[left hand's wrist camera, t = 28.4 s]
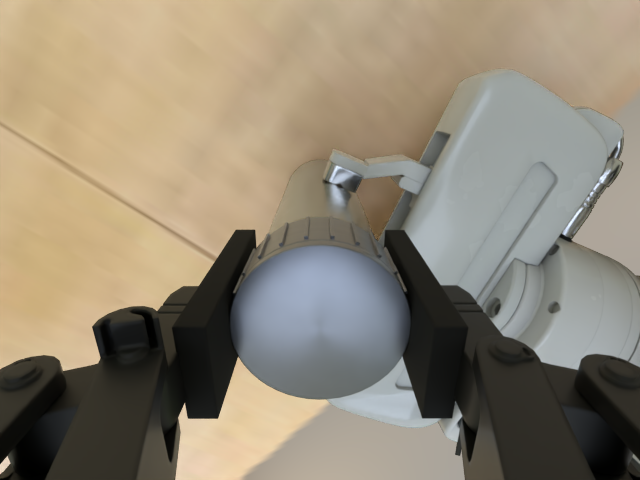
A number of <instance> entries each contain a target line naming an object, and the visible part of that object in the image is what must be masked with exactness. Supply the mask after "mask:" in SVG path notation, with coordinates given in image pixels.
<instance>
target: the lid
mask: <svg viewBox="0 0 640 480" xmlns="http://www.w3.org/2000/svg"><path fill="white" fill-rule="evenodd" d="M406 294H408V292H407V289H406V287H405V285H404V283H403V281H402V278H401V276H400V274H399V272H398V270H397V268H396V265H394V263H393V261H392V258H391V256H390V254H389V252H388V250H387V248H386V247H385V248H383V247H382V245H381V244H380V243H379V242H378V241H377V240H376V239H375V237H374V235H373V233H371V232H370V233H368V232H366V231H365V230H363V229H362V228H360V227H358V226H356V225H355V223H354V222H351V223H349V222H346V221H343V220H338V219H333V217H332V216H329V218H323V217H320V218H310V216H308V217H306V219H302V220H298V221H295V222H292V223H289V224H288V222H286V223H285V224H284V226H282V227H281V228H279V229H277V230H276V231H274V232H273V233H271V234H269V233H268V234H267V235H266V237H265V239H264V240H263V241H262V243H261V244H260V245H259V246H258V247H257V249H253V250H252V252H251V255H250V257H249V259H248V261H247V263H246V265H245V267H244V269H243V271H242V274H241V276H240V278H239V280H238V282H237V285H236V287H235V289H234V291H233V294H232V295H233V296H234V297H233V300H232V304H231V307H230V313H229V324H230V333H231V340H232V343H233V346H234V349H235V351H236V353H237V355H238V357H239V358H240V360H241V361H242V362H243V364H244V365H245V366H246V368H247V369H248V370H249V371H250V372H251V373H252V374H253V375H254V376H256V377H257V378H258V379H259V380H260V381H262V382H263V383H265V384H266V385H268V386H270V387H272V388H274V389H276V390H278V391H280V392H283V393H285V394H288V395H292V396H296V397H300V398H306V399H334V398H341V397H345V396H349V395H352V394H355V393H358V392H361V391H363V390H365V389H367V388H369V387H371V386H373V385H374V384H376V383H377V382H379V381H380V380H381V379H383V378H384V377H385V376H386V375H388V374H389V373H390V371H391V370H392V369H393V368H394V367H395V366H396V365H397V363H398V362H399V361H400V359H401V357H402V356H403V354H404V352H405V350H406V347H407V345H408V342H409V336H410V327H411V309H410V305H409V301H408V298H407V296H406Z"/></svg>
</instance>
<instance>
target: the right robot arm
mask: <svg viewBox="0 0 640 480" xmlns="http://www.w3.org/2000/svg"><path fill="white" fill-rule="evenodd" d="M623 134H624V130H623V129H622V127H621V126H620V125H619V124H618V123H617V122H616V121H614V120H613V119H611V118H609V117H607V116H605V115H603V114H601V113H599V112H597V111H595V110H593V109H591V108H588V107H583V106H576V107H572V106H570V105H569V104H568V103H566V102H565V101H564V100H562V99H561V98H560V97H558V96H557V95H555V94H554V93H553V92H551V91H550V90H548V89H547V88H545V87H544V86H542V85H541V84H539V83H537V82H536V81H534V80H532V79H531V78H529V77H527V76H525V75H523V74H522V73H520V72H517V71H515V70H511V69H493V70H489V71H485V72H482V73H479V74H476V75H473V76H471V77H468V78H466V79H464V80H462V81H461V82H460V83H459V84H458V86H457V88H456V90H455V92H454V94H453V95H452V97H451V99H450V101H449V103H448V105H447V107H446V109H445V111H444V113H443V115H442V117H441V119H440V121H439V123H438V125H437V127H436V129H435V131H434V132H433V134H432V136H431V138H430V140H429V142H428V144H427V146H426V148H425V150H424V152H423V154H422V156H421V158H420V160H419V162H418V161H416V160H413V159H411V158H409V157H406V156H404V155H402V154H397V155H390V156H383V157H375V158H368V159H365V160H364V161H362V160H360V159H358V158H355V157H353V156H351V155H349V154H346V153H344V152H342V151H339V150H336V149H333V150H332V153H331V155H330V158H329V160H328V162H327V165H326V167H325V170H324V172H323V175H322V176H323V179H324V180H325V181H327V182H329V183H331V184H335V185H337V184H341V186H342V187H343V188H344V189H346V190H348V191H351V192H353V193H355V192H356V190H357V188H358V186H359V184H360V182H361V180H362V178H363V179H369V178H378V177H387V176H391V179H392V180H393V181H394V182H395V183H396V184H397V185H398V186H399V187H401V188H403V189H404V191H403V193H402V195H401V197H400V199H399V201H398V203H397V205H396V207H395V208H394V210H393V212H392V214H391V216H390V218H389V220H388V222H387V224H386V226H385V228H384V230H383V232H382V234H381V236H380V238H379V240H378V242H379V243H380V244H381V245H382V247H383V248H384V239H385V230H405V232H406V233H407V235H408V236H409V238H410V239H411V241H412V242H413V244H414V245H415V247H416V249H417V250H418V252H419V253H420V255H421V256H422V258H423V259H424V261H425V262H426V264H427V265H428V267H429V268H430V270H431V271H432V273H433V274H434V276H435V277H436V279H437V280H438V282H439V283H440V285H458V286H459V287H461V288H462V289H464V290H465V291H467V292H469V293H470V294H471V295H472V297H473V298H474V299H475V300H476V302H477V305H479V306H480V307H481V308H482V309H483V312H485V313H486V314H487V316H488V317H489V318H490V320H491V321H492V322H493V323H494V325H495V326H496V327H497V328H498V330H499V331H500V332H501V334H502V335H503V336H505V337H509V338H513V339H515V340H518V341H520V342H522V343H524V344H526V345H527V346H529V347H530V348H531V349H533V350H534V351H535V353H536V354H537V355H538V357H539V358H540V360H541V362H544V363H548V364H552V365H557V366H562V367H567V368H571V369H576V370H578V368H579V365H580V362H581V359H582V358H584V357H585V356H586V355H591V354H603V355H610V356H615V357H617V358H621V359H624V360H626V361H628V362H630V363H632V364H634V365H636V366H638V367H640V276H635V275H634V274H633V273H632V272H631V271H630V270H629V269H628V268H626V267H625V266H623V265H622V264H621V263H619V262H617V261H615V260H613V259H611V258H609V257H607V256H605V255H602V254H600V253H598V252H595V251H593V250H591V249H589V248H586V247H584V246H582V245H579V244H577V243H575V242H573V241H572V240H571V239H572V238H573V237H574V235H575V234H576V233H577V231H578V230H579V229H580V227H581V226H582V224H583V223H584V222H585V220H586V219H587V217H588V216H589V214H590V213H591V211H592V209H593V207H594V204H596V202H597V199H599V197H600V194H602V193H603V192H604V190H605V189H606V187H609V186H610V185H611V184H612V183H613V181H614V180H615V179H616V177H617V176H618V174H619V172H620V170H621V168H622V165H623V162H622V161H620V160H618V159H619V157H620V155H621V153H622V149H623V142H624V139H623ZM609 155H610V157H609ZM327 400H328V402H329V403H330V404H332V405H333V406H335V407H337V408H340V409H342V410H345V411H347V412H350V413H353V414H356V415H359V416H363V417H366V418H369V419H373V420H377V421H380V422H384V423H388V424H392V425H396V426H401V427H408V428H422V427H427V426H430V425H433V424H435V423H436V422H438V423H439V425H440V427H441V429H442V431H443V433H444V435H445V436H446V437H447V438H448V439H450V440H452V441H455V442H457V441H458V436H459V431H460V425H461V420H462V414H461V412H460V410H459V407H458V405H457V403H456V401H455V406H454V412H453V417H452V419H422V416H421V413H420V410H419V407H418V404H417V401H416V398H415V395H414V391H413V388H412V385H411V382H410V379H409V376H408V373H407V370H406V367H405V364H404V360H403V357H401V359H400V361H399V362H398V363H397V365H396V366H395V367H394V368H393V369H392V370H391V371H390V373H389V374H388V375H386V376H385V377H384V378H383V379H381V380H380V381H379V382H377V383H376V384H374V385H373V386H371V387H369V388H367V389H365V390H363V391H361V392H358V393H355V394H352V395H349V396H345V397H341V398H334V399H327ZM630 462H631V463H632V465H633V466H634V467H635V468H636V469H637V470H638V471H639V472H640V461H639V460H638V458H637V457H636V456H635V455H634V454H633V457H632V459H631V461H630Z"/></svg>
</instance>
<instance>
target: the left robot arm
mask: <svg viewBox="0 0 640 480" xmlns="http://www.w3.org/2000/svg"><path fill="white" fill-rule="evenodd" d="M385 247H386V248H387V250H388V252H389V254H390V256H391V258H392V261H393V263H394V265H396V268H397V270H398V272H399V274H400V276H401V278H402V281H403V283H404V285H405V287H406V289H407V292H408V294H406V296H407V298H408V301H409V305H410V309H411V327H410V336H409V342H408V345H407V347H406V350H405V352H404V354H403V356H402V357H403V360H404V364H405V367H406V370H407V373H408V376H409V379H410V382H411V385H412V388H413V391H414V395H415V398H416V401H417V404H418V407H419V410H420V413H421V416H422V419H452V417H453V412H454V406H455V401H456V403H457V405H458V407H459V410H460V412H461V414H462V420H461V425H460V431H459V436H458V441H457V446H456V453H455V455H459V456H460V453H461V449H462V457H463V466H464V475H465V480H640V472H639V471H638V470H637V469H636V468H635V467H634V466H633V465H632V463H631V462H630V461H631V459H632V457H633V454H634V455H635V456H636V457H637V458H638V460H639V461H640V367H638V366H636V365H634V364H632V363H630V362H628V361H626V360H624V359H621V358H617V357H615V356H610V355H603V354H591V355H586V356H585V357H584V358H582V359H581V362H580V365H579V368H578V370H576V369H571V368H567V367H562V366H557V365H552V364H548V363H544V362H541V360H540V358H539V357H538V355H537V354H536V353H535V351H534V350H533V349H531V348H530V347H529V346H527V345H526V344H524V343H522V342H520V341H518V340H515V339H513V338H509V337H505V336H503V335H502V334H501V332H500V331H499V330H498V328H497V327H496V326H495V325H494V323H493V322H492V321H491V320H490V318H489V317H488V316H487V314H486V313H485V312H483V309H482V308H481V307H480V306H479V305H477V302H476V300H475V299H474V298H473V297H472V295H471V294H470V293H469V292H467V291H465V290H464V289H462V288H461V287H459V286H458V285H440V283H439V282H438V280H437V279H436V277H435V276H434V274H433V273H432V271H431V270H430V268H429V267H428V265H427V264H426V262H425V261H424V259H423V258H422V256H421V255H420V253H419V252H418V250H417V249H416V247H415V245H414V244H413V242H412V241H411V239H410V238H409V236H408V235H407V233H406V232H405V230H385V239H384V248H385ZM253 249H256V236H255V230H236V231H235V232H234V234H233V235H232V237H231V238H230V240H229V241H228V243H227V244H226V246H225V247H224V249H223V250H222V252H221V253H220V255H219V256H218V258H217V259H216V261H215V263H214V264H213V266H212V267H211V269H210V270H209V272H208V273H207V275H206V276H205V278H204V279H203V281H202V282H201V284H200V285H199V286H183V287H181V288H180V289H178V290H177V291H175V292H174V293H172V294H170V296H169V297H168V298H167V300H166V301H165V302H164V303H163V306H161V307H160V309H159V310H158V311H156V310H154V309H153V308H150V307H145V306H136V307H128V308H124V309H119V310H117V311H114V312H112V313H109V314H107V315H106V316H104V317H102V318H101V319H99V320H98V321H97V322H96V323H95V324H94V325H93V326H92V328H93V331H94V335H95V339H96V342H97V346H98V350H99V353H100V357H101V359H100V361H99V363H98V364H95V365H91V366H86V367H81V368H76V369H72V370H67V371H63V370H62V367H61V364H60V361H59V360H58V359H57V358H55V357H53V356H46V355H43V356H35V357H29V358H25V359H21V360H18V361H16V362H14V363H12V364H10V365H8V366H6V367H4V368H2V369H0V464H1V463H2V461H3V460H4V459H5V458H6V457H7V456H8V458H9V460H10V463H11V464H10V465H9V466H8V467H7V468H6V470H5V471H4V472H2V473H1V474H0V480H175V476H176V467H177V458H178V450H179V441H180V426H179V420H178V416H179V414H180V412H181V410H182V407H183V405H184V403H185V405H186V410H187V416H188V419H218V417H219V414H220V411H221V408H222V404H223V401H224V398H225V395H226V392H227V389H228V386H229V383H230V380H231V377H232V373H233V370H234V367H235V364H236V361H237V358H238V355H237V353H236V351H235V349H234V346H233V343H232V340H231V333H230V324H229V313H230V307H231V304H232V300H233V297H234V296H233V295H232V294H233V291H234V289H235V287H236V285H237V282H238V280H239V278H240V276H241V274H242V271H243V269H244V267H245V265H246V263H247V261H248V259H249V257H250V255H251V252H252V250H253Z"/></svg>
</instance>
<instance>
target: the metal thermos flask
mask: <svg viewBox="0 0 640 480" xmlns="http://www.w3.org/2000/svg"><path fill="white" fill-rule="evenodd" d="M327 162H328V160H313V161H309V162H307V163H305V164H303V165H301V166H300V167H299V168H298V169H297V170H296V171H295V172H294V173H293V174H292V176H291V178H290V180H289V183H288V185H287V188H286V190H285V193H284V195H283V198H282V200H281V203H280V205H279V208H278V210H277V213H276V215H275V218H274V220H273V223H272V225H271V228H270V230H269V234H271V233H273V232H274V231H276V230H277V229H279V228H281V227H282V226H284V224H285V223H286V222H288V224H289V223H292V222H295V221H298V220H302V219H306V217H308V216H310V218H320V217H323V218H329V216H332V217H333V219H338V220H343V221H346V222H349V223H351V222H354V223H355V225H356V226H358V227H360V228H362V229H363V230H365V231H366V232H368V233H370V232H371V233H372V230H371V228H370V225H369V223H368V220H367V218H366V215H365V213H364V210H363V208H362V205H361V203H360V200H359V198H358V195H357V193H356V192H355V193H353V192H351V191H348V190H346V189H344V188H343V187H342V186H341V184H337V185H335V184H331V183H329V182H327V181H325V180H324V179H323V176H322V175H323V172H324V170H325V167H326V165H327Z"/></svg>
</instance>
